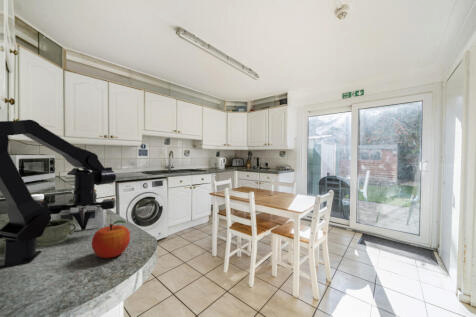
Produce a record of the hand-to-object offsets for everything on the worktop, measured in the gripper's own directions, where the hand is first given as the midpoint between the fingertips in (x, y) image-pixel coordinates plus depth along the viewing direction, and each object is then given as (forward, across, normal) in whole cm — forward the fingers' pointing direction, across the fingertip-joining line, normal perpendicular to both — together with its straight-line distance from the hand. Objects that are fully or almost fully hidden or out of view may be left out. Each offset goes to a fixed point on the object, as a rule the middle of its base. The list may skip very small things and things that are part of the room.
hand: (83, 229), depth 68 cm
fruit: (+3, -10, +19) cm, 22 cm away
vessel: (+3, +8, 0) cm, 9 cm away
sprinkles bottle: (+3, +20, -20) cm, 28 cm away
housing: (+3, +4, -13) cm, 14 cm away
